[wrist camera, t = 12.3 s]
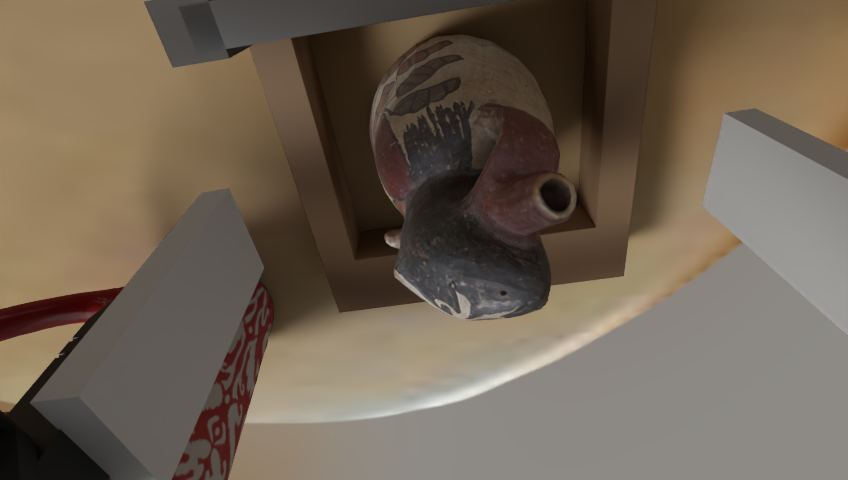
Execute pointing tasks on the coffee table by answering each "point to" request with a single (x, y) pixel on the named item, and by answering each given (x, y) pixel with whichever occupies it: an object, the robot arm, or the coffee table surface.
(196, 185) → the coffee table surface
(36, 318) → the mug
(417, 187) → the figurine
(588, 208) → the wooden stand
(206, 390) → the robot arm
